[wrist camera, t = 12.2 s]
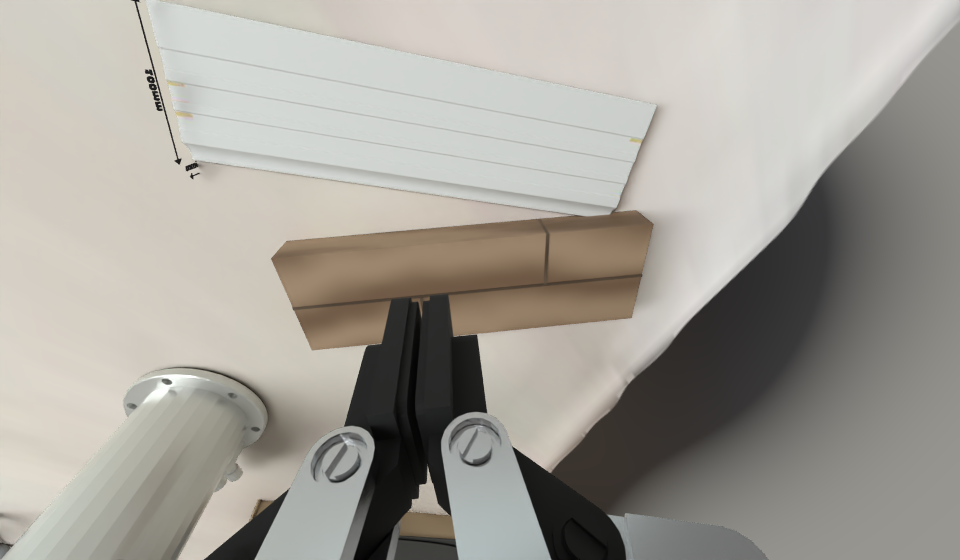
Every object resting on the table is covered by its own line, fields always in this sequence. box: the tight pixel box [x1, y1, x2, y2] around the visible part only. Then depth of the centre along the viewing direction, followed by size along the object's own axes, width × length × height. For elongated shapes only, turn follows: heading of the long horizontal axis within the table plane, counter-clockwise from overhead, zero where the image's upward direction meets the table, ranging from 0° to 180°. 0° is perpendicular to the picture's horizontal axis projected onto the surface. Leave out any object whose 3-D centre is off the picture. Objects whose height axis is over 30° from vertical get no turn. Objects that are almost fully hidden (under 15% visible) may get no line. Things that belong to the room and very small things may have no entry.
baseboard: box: [132, 0, 657, 216], centre depth 23 cm, size 30×3×10 cm
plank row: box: [271, 210, 653, 350], centre depth 28 cm, size 9×28×3 cm, turn 93°
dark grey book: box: [249, 500, 459, 560], centre depth 55 cm, size 33×4×24 cm
